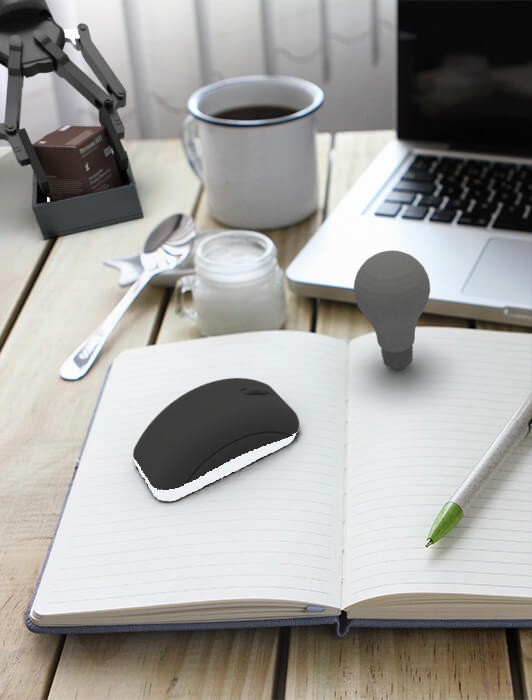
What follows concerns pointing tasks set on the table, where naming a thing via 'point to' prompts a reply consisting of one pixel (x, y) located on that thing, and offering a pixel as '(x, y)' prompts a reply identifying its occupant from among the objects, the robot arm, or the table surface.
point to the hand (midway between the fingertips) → (85, 175)
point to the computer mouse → (211, 430)
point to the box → (77, 161)
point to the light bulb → (393, 302)
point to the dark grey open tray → (87, 207)
